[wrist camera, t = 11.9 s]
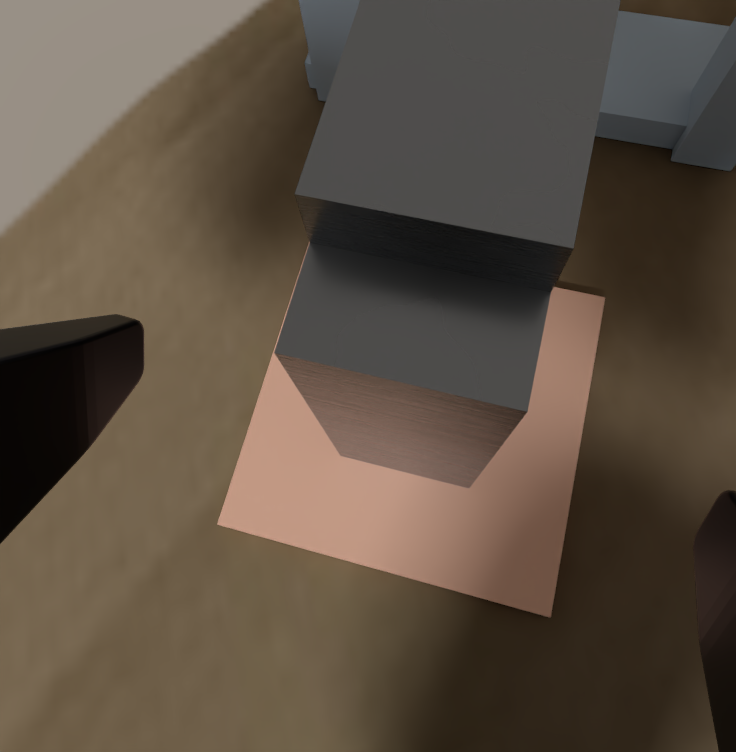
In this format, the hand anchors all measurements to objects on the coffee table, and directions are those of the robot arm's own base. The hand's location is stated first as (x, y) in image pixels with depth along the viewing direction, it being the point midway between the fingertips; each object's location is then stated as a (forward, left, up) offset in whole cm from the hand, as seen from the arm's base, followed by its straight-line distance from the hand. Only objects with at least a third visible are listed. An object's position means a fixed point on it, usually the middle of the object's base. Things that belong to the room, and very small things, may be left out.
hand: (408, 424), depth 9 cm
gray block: (0, -4, -9) cm, 10 cm away
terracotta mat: (0, -3, -10) cm, 10 cm away
